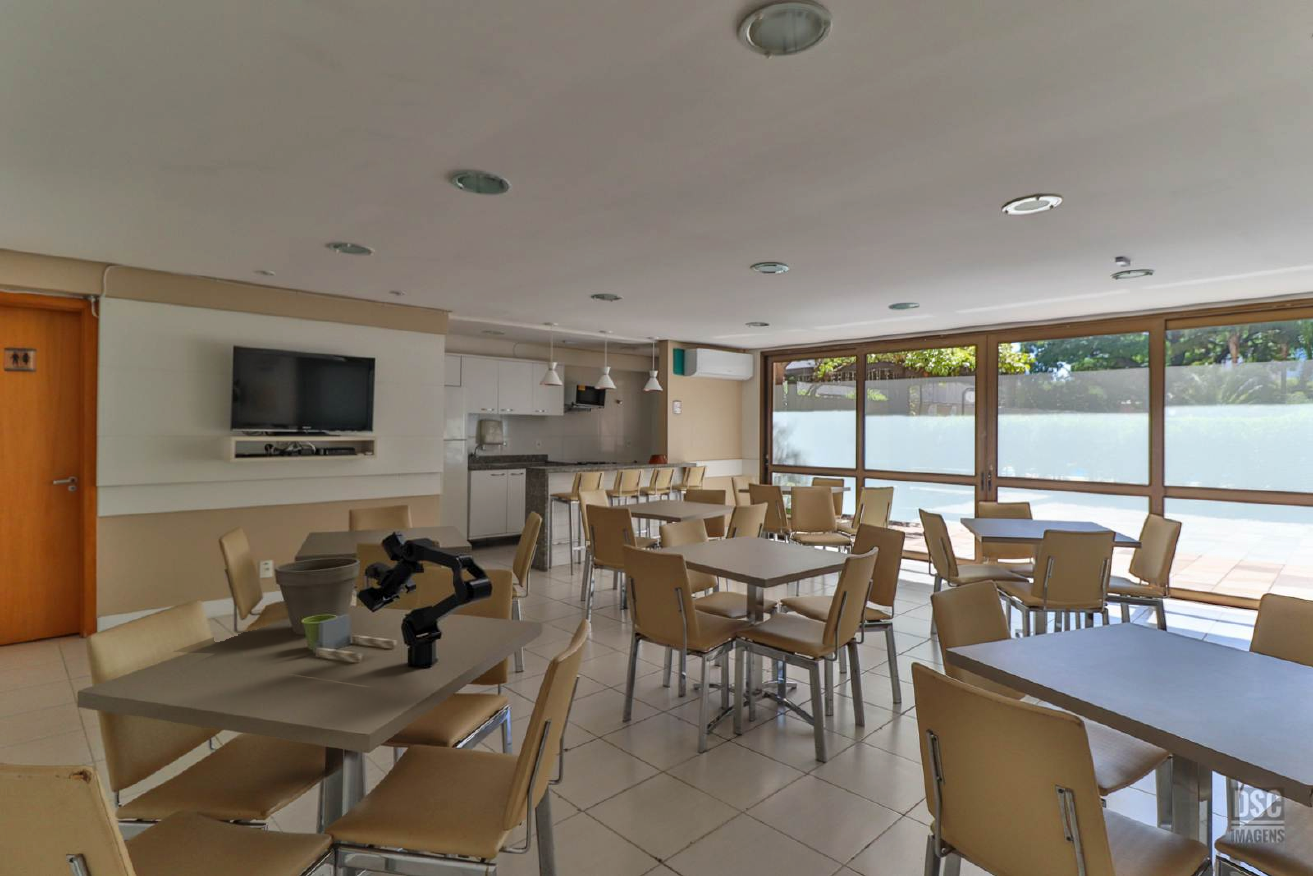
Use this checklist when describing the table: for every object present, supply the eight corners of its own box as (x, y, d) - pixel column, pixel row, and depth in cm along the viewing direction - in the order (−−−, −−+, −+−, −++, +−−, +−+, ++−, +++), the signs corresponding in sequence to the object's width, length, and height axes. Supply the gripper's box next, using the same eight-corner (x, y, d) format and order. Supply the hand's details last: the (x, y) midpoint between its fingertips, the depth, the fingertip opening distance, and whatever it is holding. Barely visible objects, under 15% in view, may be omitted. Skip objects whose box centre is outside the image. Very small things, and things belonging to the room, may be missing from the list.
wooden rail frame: (397, 648, 194) (397, 640, 194) (358, 663, 181) (358, 654, 181) (355, 643, 200) (355, 635, 200) (315, 657, 187) (315, 648, 187)
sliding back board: (350, 644, 198) (350, 614, 198) (322, 654, 189) (322, 622, 189) (341, 643, 199) (341, 613, 199) (313, 652, 190) (313, 621, 190)
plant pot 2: (325, 652, 191) (325, 622, 191) (294, 652, 192) (294, 622, 192) (343, 643, 200) (343, 614, 200) (313, 642, 201) (313, 614, 201)
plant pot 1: (255, 638, 206) (256, 569, 206) (308, 618, 230) (308, 556, 230) (329, 641, 202) (329, 571, 202) (374, 620, 226) (374, 557, 227)
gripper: (404, 546, 195) (376, 582, 199) (359, 561, 177) (330, 600, 181) (429, 572, 193) (401, 608, 197) (386, 590, 175) (356, 629, 179)
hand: (372, 611), depth 188 cm, fingers closed
